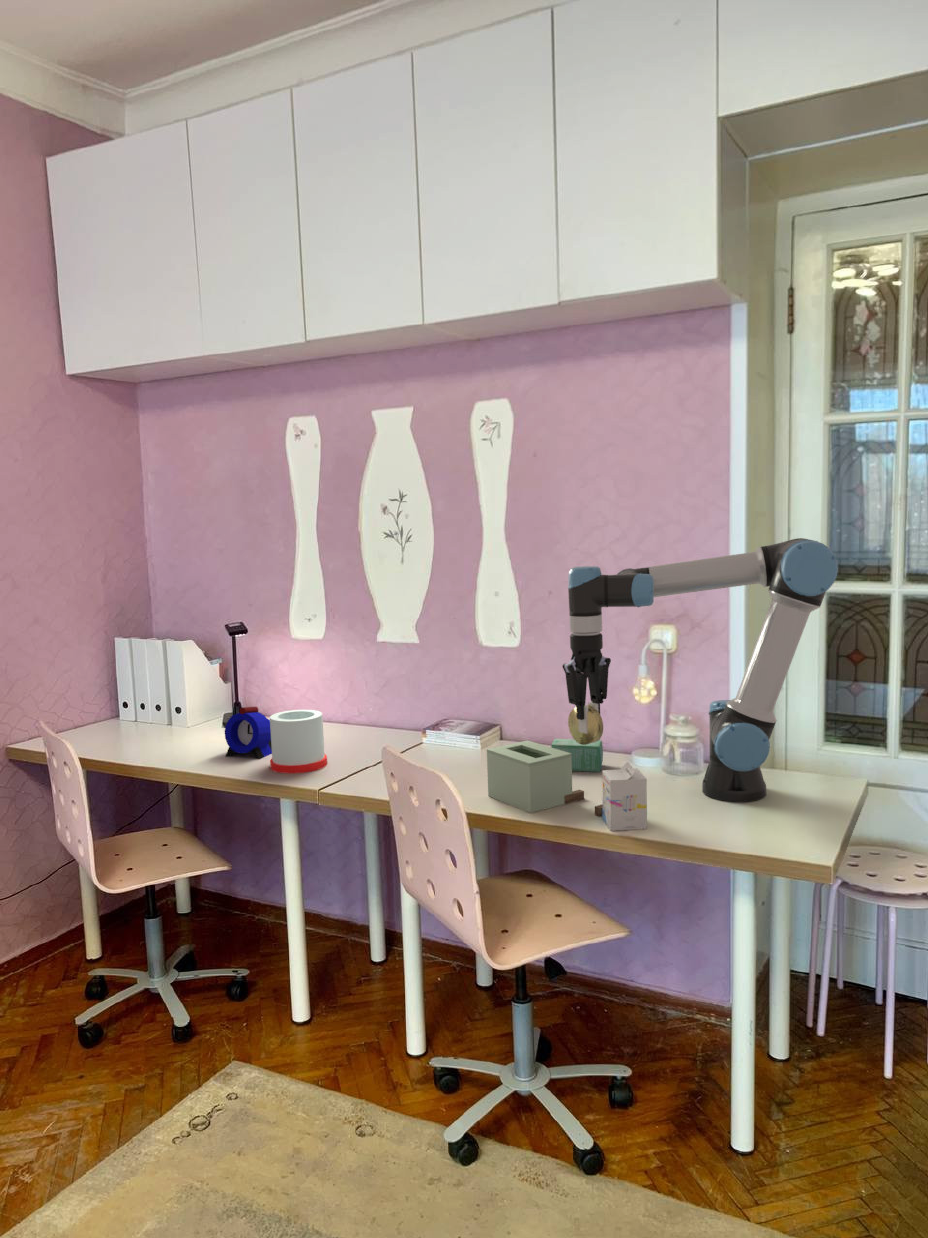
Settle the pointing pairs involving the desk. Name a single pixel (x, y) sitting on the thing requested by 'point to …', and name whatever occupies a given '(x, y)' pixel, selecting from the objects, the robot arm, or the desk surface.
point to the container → (297, 741)
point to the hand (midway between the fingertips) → (588, 731)
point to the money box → (529, 775)
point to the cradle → (579, 796)
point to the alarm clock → (249, 733)
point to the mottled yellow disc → (593, 727)
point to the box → (582, 754)
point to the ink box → (624, 799)
